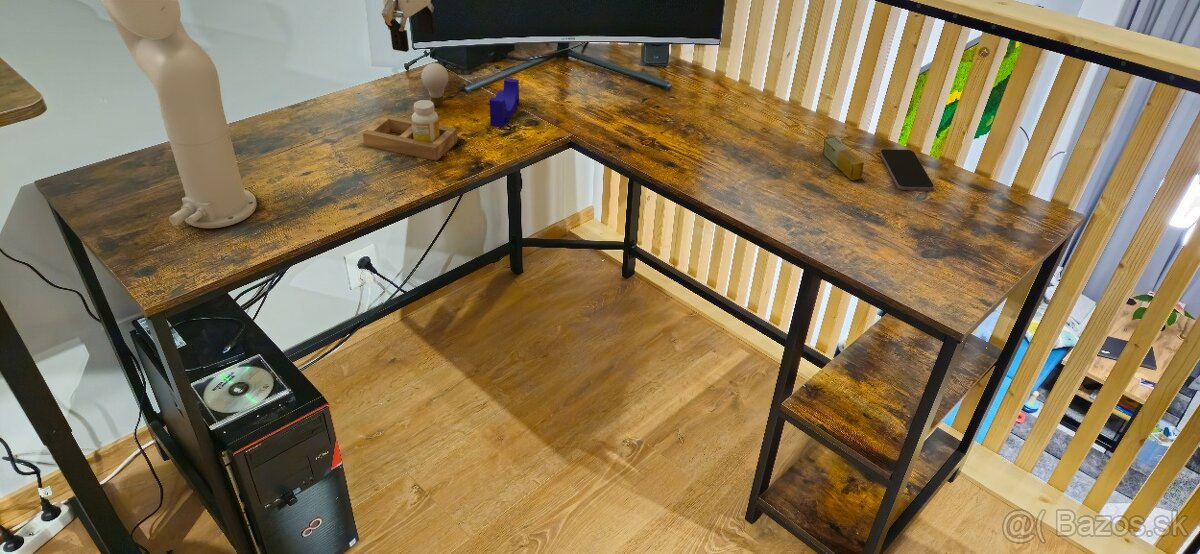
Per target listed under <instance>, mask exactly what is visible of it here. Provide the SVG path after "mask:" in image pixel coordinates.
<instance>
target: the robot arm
mask: <svg viewBox="0 0 1200 554" xmlns="http://www.w3.org/2000/svg"><path fill="white" fill-rule="evenodd" d="M100 1H101V4H102V6H103V8H104V9H105V12H106V13H107V15H108V17H109V18H110V20H111V22H112V24H113V25H114V27H115V29H116V31H117V32H118V34H119V36H120V38H121V39H122V41H123V43H124V45H125V46H126V48H127V50H128V51H129V53H130V55H131V57H132V58H133V60H134V61H135V63H136V64H137V66H138V67H139V69H140V70H141V71H142V72H143V73H144V75H145V76H146V77H147V79H148V80H149V82H151V83H152V85H153V87H154V89H155V93H156V95H157V99H158V103H159V108H160V113H161V118H162V122H163V126H164V130H165V133H166V137H167V138H168V141H169V142H168V143H169V145H170V147H171V148H170V149H171V152H172V155H173V158H174V161H175V164H176V168H177V172H178V175H179V178H180V182H181V185H182V188H183V191H184V194H185V196H184V197H182V198H181V202H182V205H181V206H180V210H177V211H176V212H174V213H173V214H171V215H170V216H169V217H168V221H169V223H170V224H171V225H173V226H175V227H177V226H179V225H180V224H182V223H184V222H185V223H186V224H187V225H189V226H192V227H195V228H199V229H218V228H225V227H229V226H232V225H235V224H238V223H240V222H243V221H245V220H246V219H248V218H249V217H250V216H252V214H253V213H254V212H255V211H256V209H257V205H258V204H257V199H256V196H255V195H254V193H252V192H250V191H249V190H247V189H244V185H243V180H242V177H241V173H240V169H239V165H238V162H237V157H236V153H235V149H234V145H233V141H232V138H231V134H230V129H229V126H228V122H227V118H226V114H225V110H224V109H225V108H224V105H223V99H222V91H221V81H220V76H219V74H218V69H217V67H216V65H215V63H214V61H213V59H212V58H211V57H210V55H209V54H208V53H207V51H206V50H204V49H203V48H202V46H201V45H199V44H198V43H197V42H196V41H195V40H194V39H193V38H192V37H190V35H189V34H188V32H187V31H186V28H185V27H184V25H183V23H182V21H181V14H182V13H181V11H182V10H181V6H180V2H179V0H100ZM434 1H435V0H382V3H383V9H382V11H381V16H382V18H383V21H384V24H385V25H386V26H387V29H388V30H389V31H390V32H389V33H390V39H391V47H392V50H393V51H398V52H405V53H407V52H409V50H410V46H409V38H408V31H407V29H406V24H407V20H408V18H411V17H412V16H414V15H415V14H416V18H417V27H418V31H419V33H424V34H431V35H432V34H434V33H435V23H434V10H435V7H434V5H433V4H434ZM397 19H400V20H399V21H398V20H397Z"/></svg>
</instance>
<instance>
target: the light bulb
mask: <svg viewBox="0 0 1200 554" xmlns="http://www.w3.org/2000/svg"><path fill="white" fill-rule="evenodd" d="M420 77H421V83H422V84H423V86H424V87H425V89H427V91H428V94H429V96H430V101H432V102H433V103H434V107H436V108H439V107H441V106H442V105H443V104H444V93H445V88H446V86H447V85H448V82H449V73H448V70H447V69H446V68H445V66H444V65H442V64H440V63H438V62H431V63H428V64H426V66H424V67H423V69H422V71H421V74H420Z"/></svg>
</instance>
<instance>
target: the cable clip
mask: <svg viewBox="0 0 1200 554" xmlns="http://www.w3.org/2000/svg"><path fill="white" fill-rule="evenodd" d="M519 80H520V79H517V78H508V77H505V78H504V80H503V89H498V91H497V93H496V95H495V97H492V96H491V97H490V98H489V99H488V101H489V103H488V105H489V123H490V127H491V126H492V127H497V128H498V127H499V128H505V126H506V125H507V124H508V122H509V120H510V119H511V117H512V116H513V115H514V113H515V111H516V110H517V108H519V105H520V84H519V82H520V81H519Z"/></svg>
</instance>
